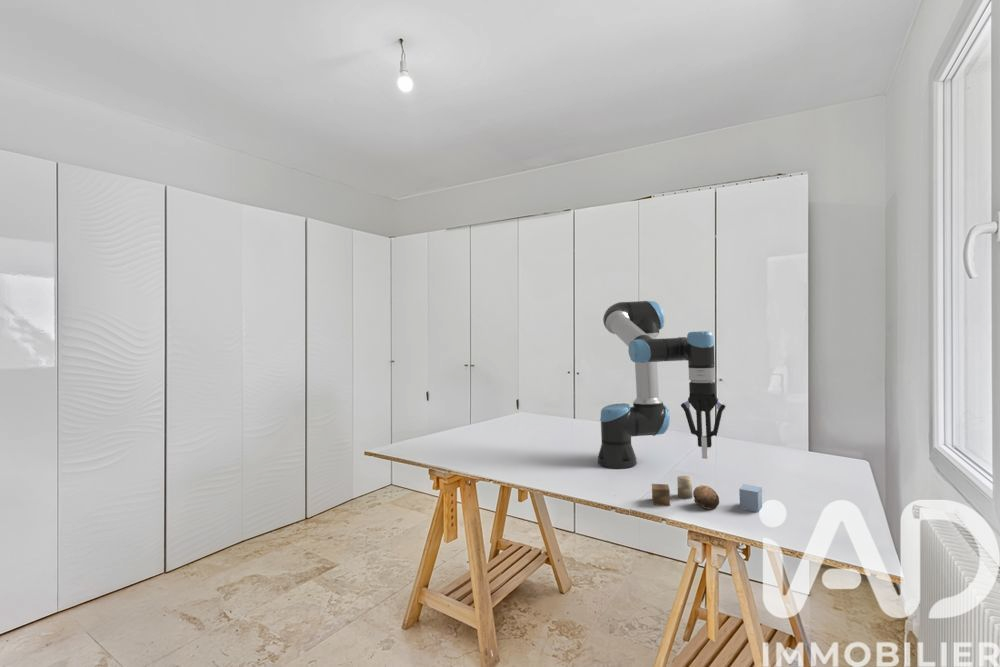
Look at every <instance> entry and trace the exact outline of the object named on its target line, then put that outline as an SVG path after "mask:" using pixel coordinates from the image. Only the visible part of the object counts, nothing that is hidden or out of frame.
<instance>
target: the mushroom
mask: <svg viewBox="0 0 1000 667" xmlns="http://www.w3.org/2000/svg"><path fill="white" fill-rule="evenodd" d="M692 496H693V498H694V503H695V504H697V505H700V506H701V507H702V508H704V509H708V510H714V509H716V508H717V507H718V506H719V505H720V497H719V495H718V493H717V492H716V491H715V490H714V488H712V487H710V486H708V485H704V484H703V485H702V484H701V485H698V486H696V487H695V488H694V490H692Z"/></svg>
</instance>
